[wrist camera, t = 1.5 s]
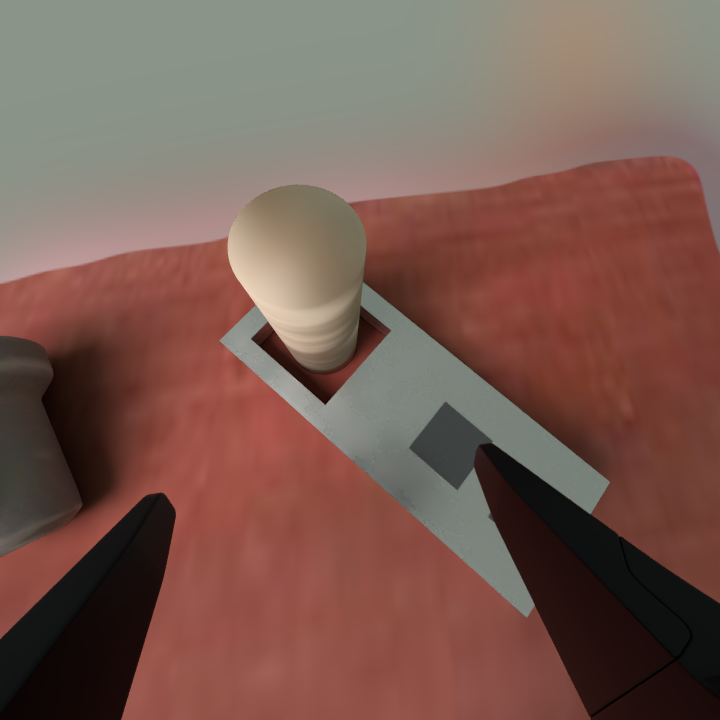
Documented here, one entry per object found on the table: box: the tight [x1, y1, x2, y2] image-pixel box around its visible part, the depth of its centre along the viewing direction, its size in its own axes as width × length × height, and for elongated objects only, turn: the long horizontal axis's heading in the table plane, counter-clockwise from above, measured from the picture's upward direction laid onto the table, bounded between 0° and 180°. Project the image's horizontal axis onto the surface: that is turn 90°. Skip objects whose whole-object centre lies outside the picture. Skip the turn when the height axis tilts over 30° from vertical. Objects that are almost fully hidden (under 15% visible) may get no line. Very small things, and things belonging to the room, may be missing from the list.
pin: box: [228, 185, 366, 375], centre depth 18 cm, size 5×5×13 cm
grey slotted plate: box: [220, 282, 610, 617], centre depth 22 cm, size 10×26×2 cm, turn 49°
